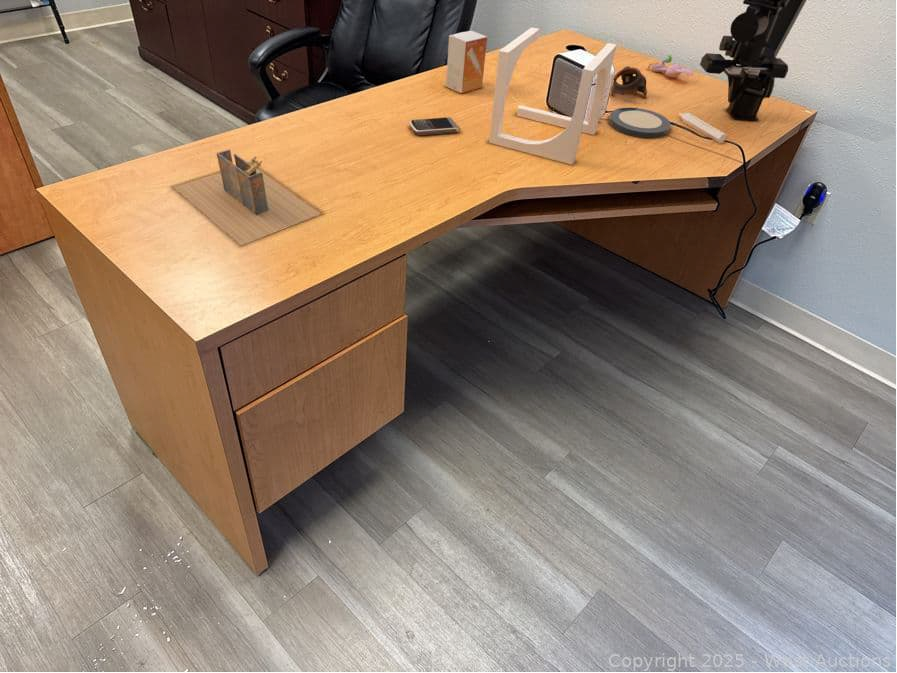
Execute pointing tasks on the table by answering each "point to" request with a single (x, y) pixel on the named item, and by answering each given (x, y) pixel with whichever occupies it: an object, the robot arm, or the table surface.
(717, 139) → the beige long bar
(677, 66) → the pink elongated piece
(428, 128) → the cell phone
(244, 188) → the architectural model on board
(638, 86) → the brown curved piece
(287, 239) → the table surface
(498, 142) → the white open stand
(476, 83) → the small box
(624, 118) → the plate
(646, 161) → the table surface
